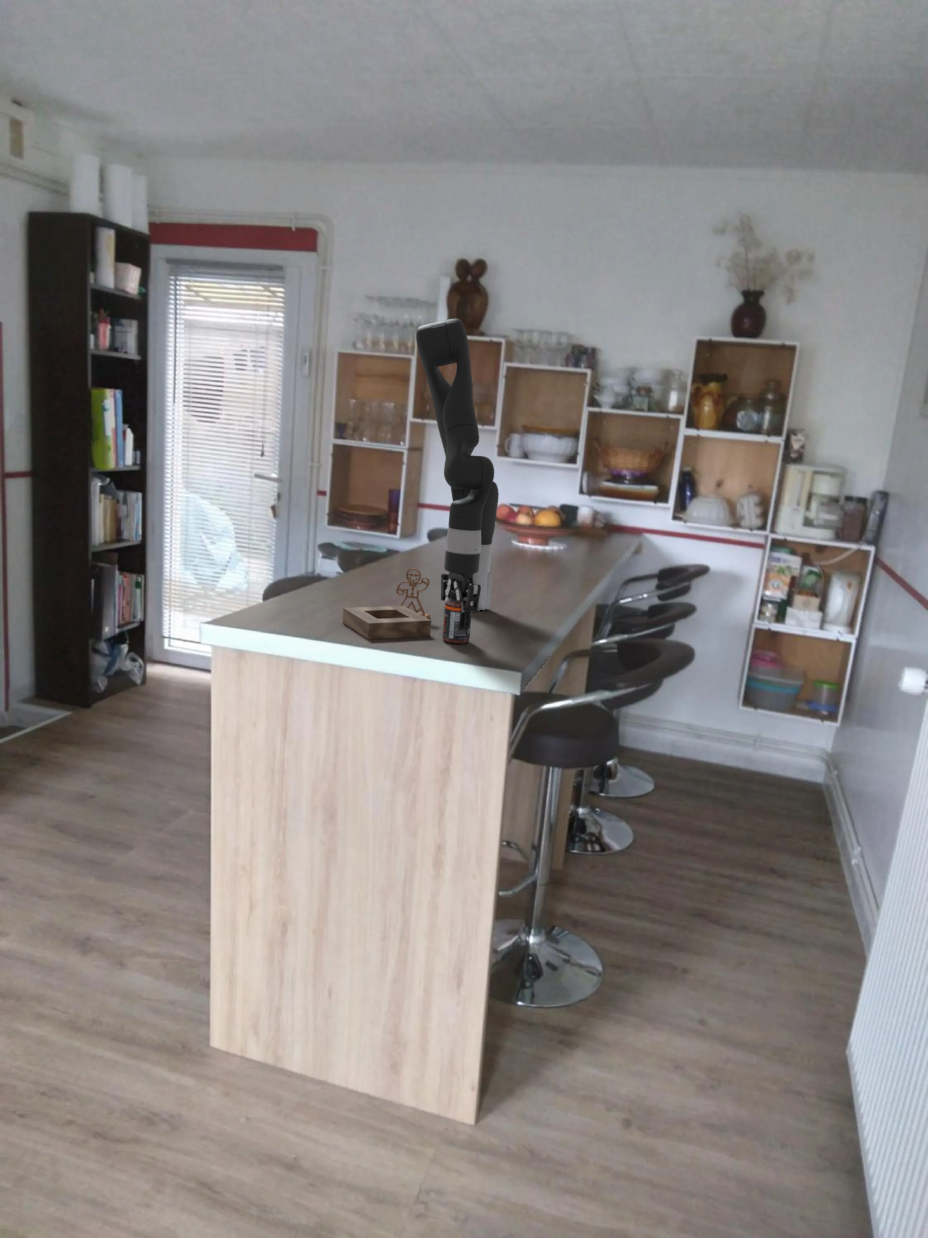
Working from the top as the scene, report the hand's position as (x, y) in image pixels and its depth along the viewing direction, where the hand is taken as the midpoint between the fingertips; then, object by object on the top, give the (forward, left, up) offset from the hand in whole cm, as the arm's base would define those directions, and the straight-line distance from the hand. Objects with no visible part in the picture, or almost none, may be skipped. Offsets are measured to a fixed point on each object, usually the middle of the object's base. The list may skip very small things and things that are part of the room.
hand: (456, 625), depth 188 cm
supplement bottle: (0, 0, -4) cm, 4 cm away
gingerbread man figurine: (0, -23, -4) cm, 23 cm away
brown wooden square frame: (+11, -13, -4) cm, 17 cm away
